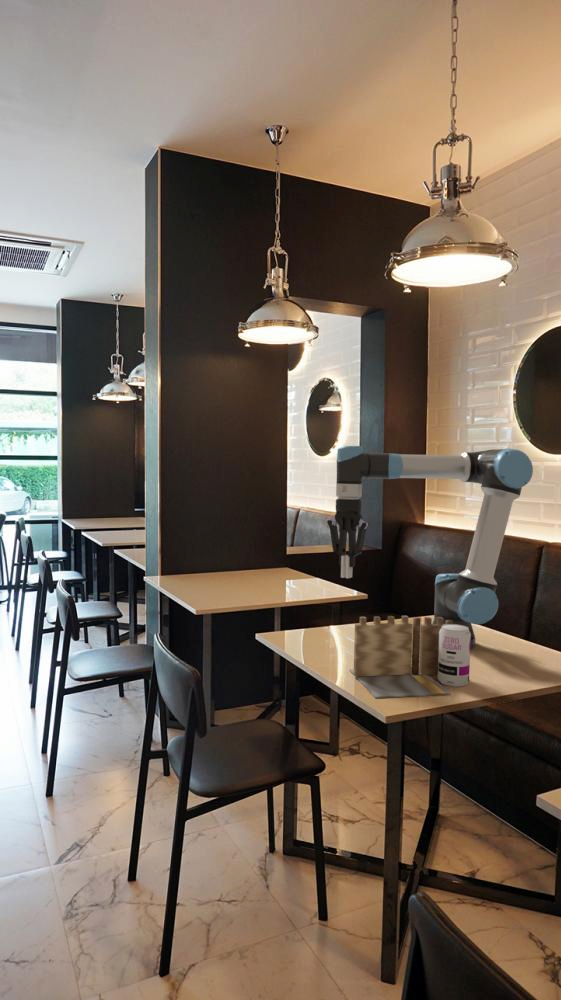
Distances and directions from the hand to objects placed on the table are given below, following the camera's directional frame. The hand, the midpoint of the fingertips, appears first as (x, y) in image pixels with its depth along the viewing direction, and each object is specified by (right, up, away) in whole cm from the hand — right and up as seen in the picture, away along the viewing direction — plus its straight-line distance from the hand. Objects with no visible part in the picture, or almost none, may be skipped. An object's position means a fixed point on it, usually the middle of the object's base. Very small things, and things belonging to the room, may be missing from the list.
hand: (346, 577), depth 198 cm
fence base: (+15, -26, -19) cm, 36 cm away
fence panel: (+8, -25, -15) cm, 30 cm away
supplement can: (+27, -26, -19) cm, 42 cm away
